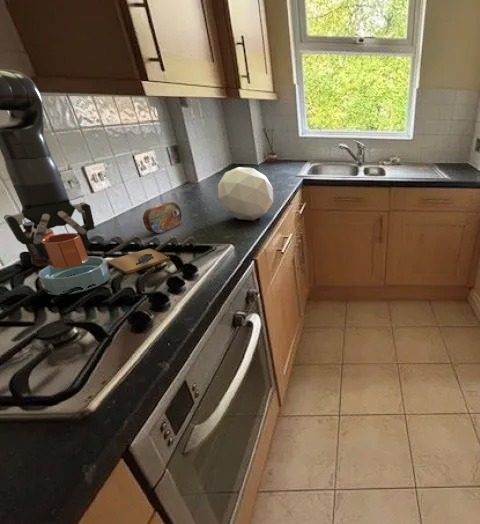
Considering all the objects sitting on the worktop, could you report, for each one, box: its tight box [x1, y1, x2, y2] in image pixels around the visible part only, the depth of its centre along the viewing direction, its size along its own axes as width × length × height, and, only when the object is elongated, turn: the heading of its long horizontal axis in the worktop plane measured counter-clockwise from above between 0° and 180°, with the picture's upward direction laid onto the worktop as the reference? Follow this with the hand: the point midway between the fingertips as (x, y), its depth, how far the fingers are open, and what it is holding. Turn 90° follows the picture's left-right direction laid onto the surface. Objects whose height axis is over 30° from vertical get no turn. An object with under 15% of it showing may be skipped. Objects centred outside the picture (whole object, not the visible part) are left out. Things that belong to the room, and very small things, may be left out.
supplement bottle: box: [21, 221, 55, 268], centre depth 86 cm, size 6×6×11 cm
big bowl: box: [37, 255, 111, 296], centre depth 78 cm, size 12×12×4 cm
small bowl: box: [41, 232, 89, 269], centre depth 75 cm, size 6×6×6 cm
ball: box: [217, 166, 274, 221], centre depth 123 cm, size 19×20×20 cm
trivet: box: [106, 248, 171, 275], centre depth 90 cm, size 11×11×1 cm
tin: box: [142, 201, 182, 234], centre depth 113 cm, size 15×3×8 cm, turn 171°
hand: (66, 253), depth 75 cm, fingers closed on small bowl, 6 cm apart
